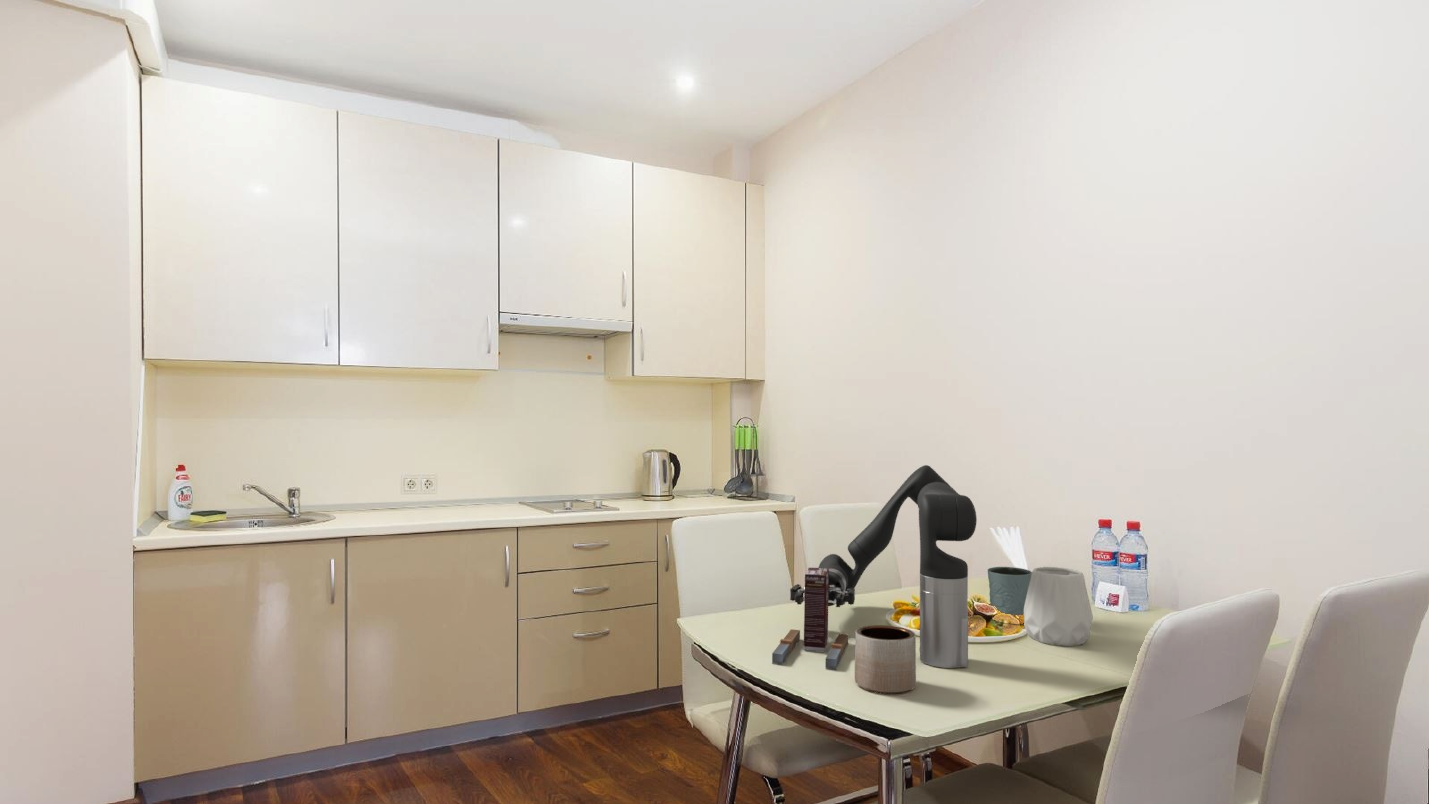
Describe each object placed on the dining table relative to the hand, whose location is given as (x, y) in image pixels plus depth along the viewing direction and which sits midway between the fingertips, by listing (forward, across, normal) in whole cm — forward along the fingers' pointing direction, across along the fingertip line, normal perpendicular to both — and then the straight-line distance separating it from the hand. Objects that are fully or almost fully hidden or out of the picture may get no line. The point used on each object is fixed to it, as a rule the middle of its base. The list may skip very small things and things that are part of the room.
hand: (817, 601), depth 174 cm
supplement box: (+4, 0, -9) cm, 10 cm away
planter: (+25, -16, -9) cm, 31 cm away
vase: (-18, -50, -9) cm, 54 cm away
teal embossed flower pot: (-33, -41, -9) cm, 54 cm away
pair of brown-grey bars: (+10, 0, -8) cm, 13 cm away
